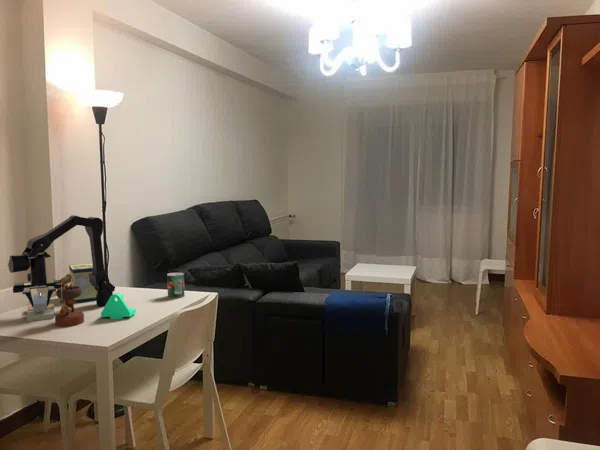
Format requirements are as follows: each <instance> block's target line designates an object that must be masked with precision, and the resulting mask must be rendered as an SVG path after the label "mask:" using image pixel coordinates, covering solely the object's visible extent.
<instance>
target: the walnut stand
mask: <svg viewBox="0 0 600 450" xmlns="http://www.w3.org/2000/svg"><path fill="white" fill-rule="evenodd" d="M53 308H54V309H55V304H54V303H49V305H48V306H47V309H53ZM27 311H33V307H32V305H28V306H27Z"/></svg>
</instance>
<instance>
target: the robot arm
mask: <svg viewBox="0 0 600 450" xmlns="http://www.w3.org/2000/svg"><path fill="white" fill-rule="evenodd" d="M76 226H81V227H84V229H85V232H86V235H87V236H88V238H89V244H90V252H91V253H90V254H91V263H92V264H93V271H92V273H89V278H90V280H89V282H90V283H91V285H92V286H93V287H95V290H97V294H96V300H95V302H96V305H97V306H98V307H105V305H106V304H107V302H108V300H109V298H110V297H111V296H112V295H113V294H114V292H115V290H116V286H115V285H113V284H112V282H111V281H110V278H109V274H108V272H107V271H106V269H105V264H104V253H103V245H102V244H103V243H102V235H103V232H104V221H103V220H102V219H101V218H100V217H95V216H88V217H83V216H79V215H74V214H73V215H70V216H69V217H68V218H66V219H65V220H63V221H62V222H61V223H59V224H58V225H56V226H54V227H53V228H51V229H50V230H49V231H47V232H45V233H43V234H39V235H37V236H35V237H33V238H31V239H29V240H27V244H26V247H25V248H24V250H23V251H22V253H21V254H18V255H17V254H16V255H14V254H13V255H9V260H8V264H7V266H8V270H9V272H10V273H11V274H12V273H20V272H27V271H28V270H29V271H30V272H29V273H27V277H26V278H27V282H30V284H25V282H18V283H14V284H13V286H12V293H13V294H15V293H16V294H17V293H22V295H25V296H26V298H27V299H28V300H29V301H28V302H29V303H30V306H32V307H33V293H32V290H34V289H44V288H45V289H46V288H48V289H47V295H46V300H47V306H48V305H49V304H50V301H51V297H52V295H53V292H56V291H57V289H58V288H61V285H55V284H57V283H58V282H59V281H60V280H61V279H54V280H53V282H48V279H47V278H48V277H47V265H46V258H51V255H50V254H49V253H48V252H47V251H46V250H48V249H49V247H50V246H52V244H53V243H54V241H56V240H58V239H60V238H61V237H62V236H63V235H65V234H66V233H68V232H69V231H70V230H72V229H74V227H76ZM62 287H64V285H62Z"/></svg>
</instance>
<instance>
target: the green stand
mask: <svg viewBox="0 0 600 450" xmlns="http://www.w3.org/2000/svg"><path fill="white" fill-rule="evenodd" d="M52 319H55V307H54V308H53V309H47V310H45V311H36V312H34V311H28V310H27V311H26V322H33V321H34V320H35V321H42V320H52Z"/></svg>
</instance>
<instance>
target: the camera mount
mask: <svg viewBox="0 0 600 450" xmlns="http://www.w3.org/2000/svg"><path fill="white" fill-rule="evenodd" d="M136 313H137V308H135V307H128V305H127V303H126V302H125V300H124V296H123V294H122V293H121V292H115V293H113V295H112V296H111V297H110V298H109V300H108V302H107V304H106V305H105V306H103V309H102V310H101V312H100V316H101V318H102V317H105V318H106V317H107V318H109V319H110V320H122V319H123V318H126V317H127V318H129V317H132V316H133V315H136Z"/></svg>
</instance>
